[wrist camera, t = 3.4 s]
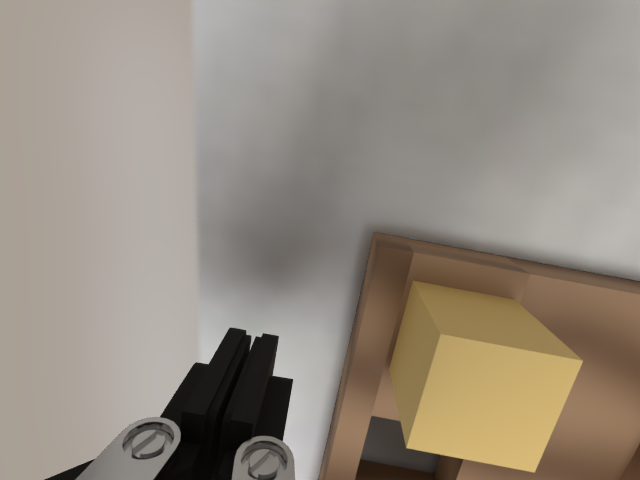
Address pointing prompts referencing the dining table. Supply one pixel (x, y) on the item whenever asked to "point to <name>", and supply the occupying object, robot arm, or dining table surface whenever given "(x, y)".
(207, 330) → the dining table surface
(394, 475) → the board
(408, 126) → the dining table surface
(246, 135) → the dining table surface
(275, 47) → the dining table surface
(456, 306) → the ochre block
